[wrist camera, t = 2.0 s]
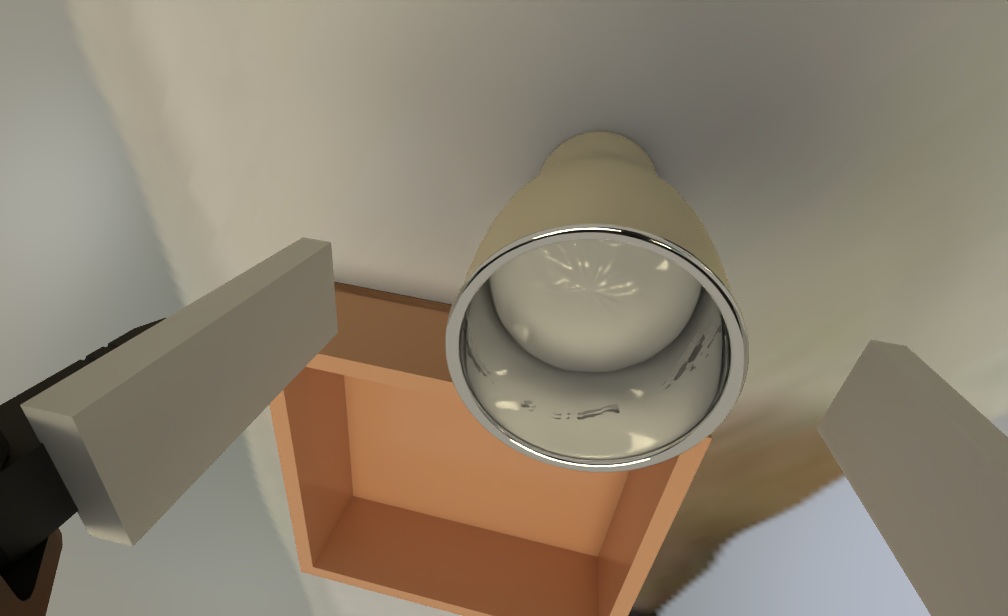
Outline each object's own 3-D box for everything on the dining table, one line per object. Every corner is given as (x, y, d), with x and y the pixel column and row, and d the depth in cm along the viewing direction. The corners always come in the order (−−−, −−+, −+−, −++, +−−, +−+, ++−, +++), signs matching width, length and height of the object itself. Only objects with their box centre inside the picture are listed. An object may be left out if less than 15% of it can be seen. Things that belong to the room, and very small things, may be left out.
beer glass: (684, 129, 21) (822, 240, 8) (649, 267, 24) (704, 504, 11) (534, 113, 22) (434, 190, 9) (521, 249, 25) (435, 449, 12)
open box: (686, 351, 26) (711, 438, 20) (607, 555, 36) (609, 655, 30) (330, 281, 28) (257, 340, 22) (348, 491, 38) (301, 571, 32)
